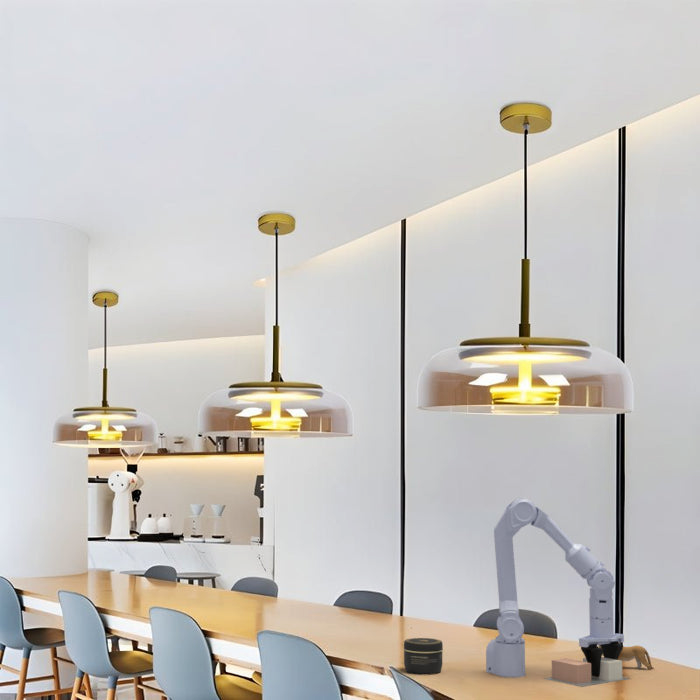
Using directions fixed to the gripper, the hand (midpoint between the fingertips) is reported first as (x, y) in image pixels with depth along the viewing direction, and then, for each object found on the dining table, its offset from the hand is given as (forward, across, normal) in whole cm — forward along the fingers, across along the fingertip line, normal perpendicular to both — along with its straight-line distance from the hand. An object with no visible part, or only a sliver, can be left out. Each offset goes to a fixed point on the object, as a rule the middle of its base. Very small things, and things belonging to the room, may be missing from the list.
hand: (602, 674), depth 244 cm
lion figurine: (+2, +14, +4) cm, 15 cm away
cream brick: (0, 0, 0) cm, 0 cm away
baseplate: (+2, -4, +1) cm, 5 cm away
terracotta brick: (0, -9, +2) cm, 9 cm away
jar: (+2, -28, +34) cm, 44 cm away
